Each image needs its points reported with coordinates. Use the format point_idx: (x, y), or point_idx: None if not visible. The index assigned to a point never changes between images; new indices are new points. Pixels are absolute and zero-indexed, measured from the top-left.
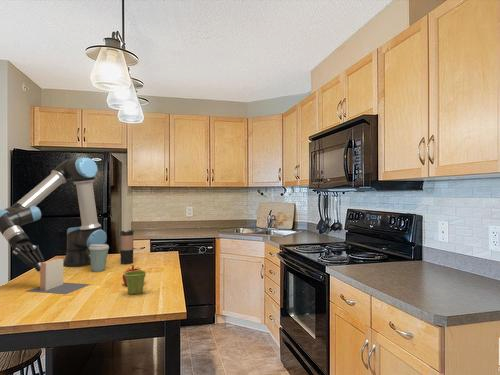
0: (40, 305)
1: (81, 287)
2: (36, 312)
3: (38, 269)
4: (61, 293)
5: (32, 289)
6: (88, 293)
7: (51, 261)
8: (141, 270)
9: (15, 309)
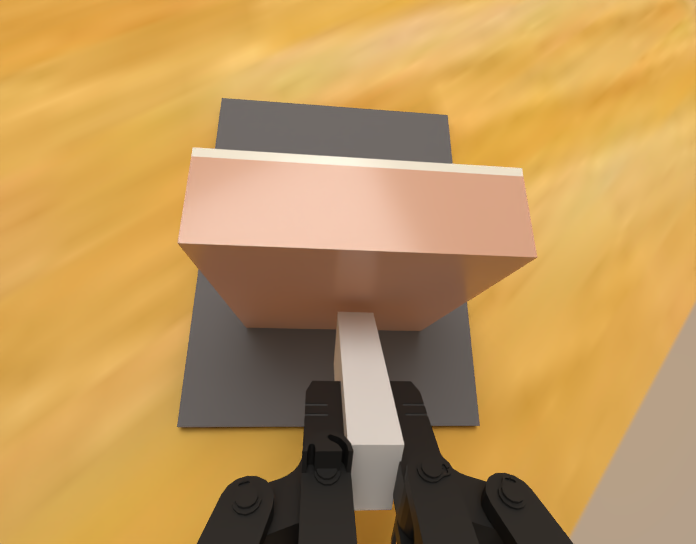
0: (604, 137)
1: (304, 112)
2: (667, 94)
3: (415, 395)
4: (442, 145)
5: (424, 404)
6: (377, 42)
7: (407, 181)
8: None
9: (692, 204)
